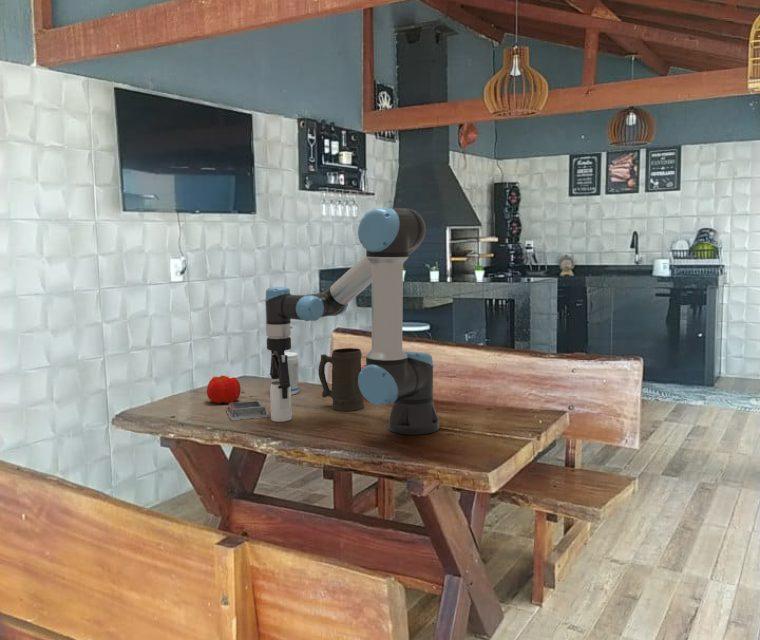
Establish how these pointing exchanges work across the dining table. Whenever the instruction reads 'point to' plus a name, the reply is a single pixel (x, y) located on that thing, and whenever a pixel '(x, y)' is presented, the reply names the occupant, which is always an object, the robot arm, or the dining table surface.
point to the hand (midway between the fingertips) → (280, 403)
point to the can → (276, 412)
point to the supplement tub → (293, 371)
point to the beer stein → (343, 379)
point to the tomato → (223, 389)
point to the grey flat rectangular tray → (246, 410)
